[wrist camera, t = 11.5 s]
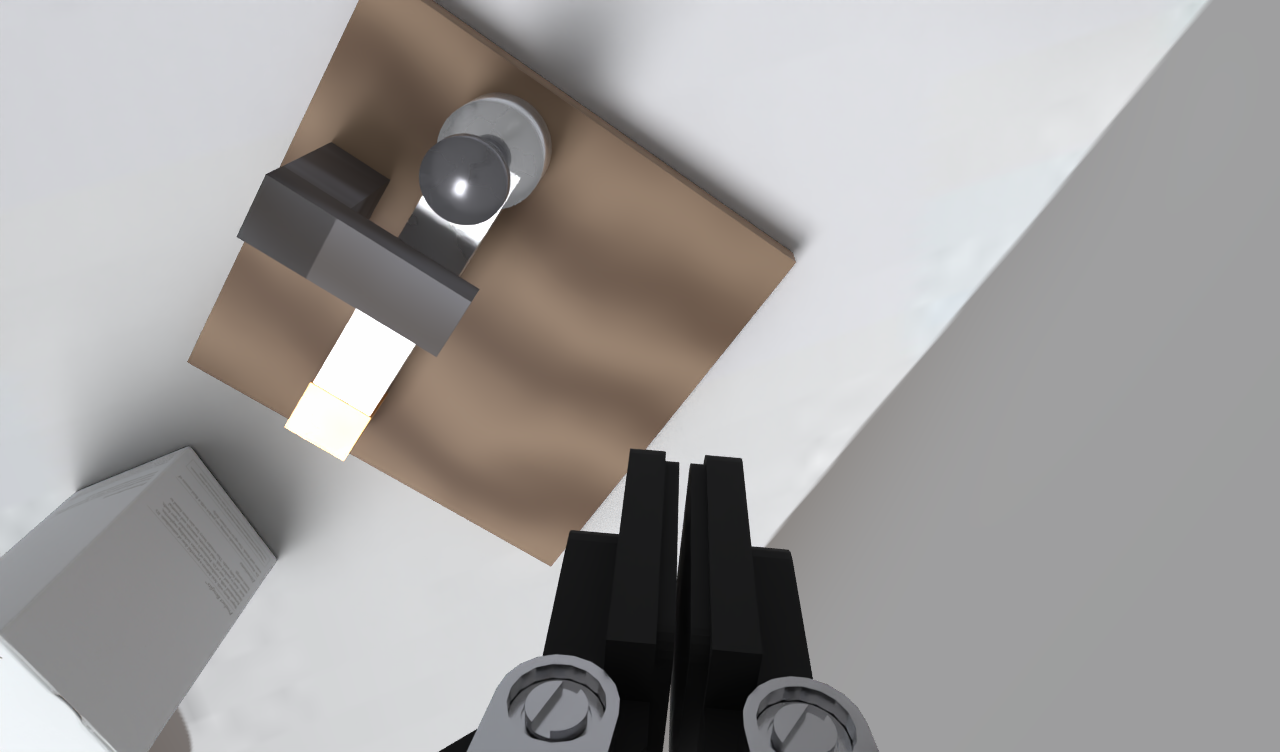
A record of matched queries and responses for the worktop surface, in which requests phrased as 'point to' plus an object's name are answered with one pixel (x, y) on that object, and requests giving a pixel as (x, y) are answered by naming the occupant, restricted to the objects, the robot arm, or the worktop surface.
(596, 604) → the robot arm
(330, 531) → the worktop surface
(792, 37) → the worktop surface
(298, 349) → the board
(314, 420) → the link
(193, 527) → the supplement box
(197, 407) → the worktop surface
